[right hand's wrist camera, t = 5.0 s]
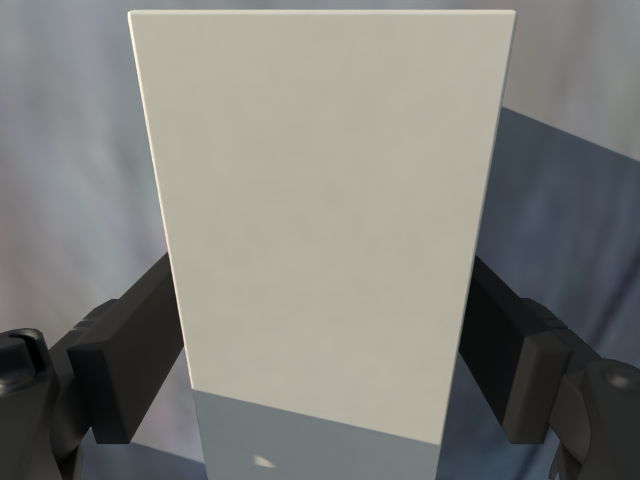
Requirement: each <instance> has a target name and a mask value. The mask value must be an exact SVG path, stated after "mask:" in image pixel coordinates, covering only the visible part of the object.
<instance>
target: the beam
mask: <svg viewBox="0 0 640 480" xmlns="http://www.w3.org/2000/svg"><path fill="white" fill-rule="evenodd" d="M517 17H518V14H517V12H516V11H514V10H132V11H129V12H128V21H129V27H130V33H131V38H132V44H133V50H134V56H135V61H136V67H137V73H138V79H139V85H140V90H141V96H142V102H143V108H144V114H145V119H146V125H147V131H148V137H149V142H150V148H151V154H152V160H153V166H154V171H155V177H156V183H157V189H158V194H159V200H160V206H161V212H162V218H163V223H164V229H165V235H166V241H167V247H168V252H169V258H170V264H171V270H172V275H173V281H174V287H175V293H176V299H177V304H178V310H179V316H180V322H181V327H182V333H183V339H184V345H185V351H186V356H187V362H188V368H189V374H190V379H191V385H192V391H193V397H194V403H195V408H196V414H197V420H198V426H199V432H200V437H201V443H202V449H203V455H204V460H205V466H206V472H207V478H208V480H435V479H436V473H437V467H438V462H439V456H440V451H441V445H442V439H443V434H444V428H445V422H446V417H447V411H448V406H449V400H450V394H451V389H452V383H453V377H454V372H455V366H456V361H457V355H458V349H459V344H460V338H461V332H462V327H463V321H464V316H465V310H466V304H467V299H468V293H469V287H470V282H471V276H472V271H473V265H474V259H475V254H476V248H477V242H478V237H479V231H480V226H481V220H482V214H483V209H484V203H485V197H486V192H487V186H488V181H489V175H490V169H491V164H492V158H493V152H494V147H495V141H496V136H497V130H498V124H499V119H500V113H501V107H502V102H503V96H504V91H505V85H506V79H507V74H508V68H509V62H510V57H511V51H512V46H513V40H514V34H515V29H516V23H517Z"/></svg>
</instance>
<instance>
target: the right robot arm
mask: <svg viewBox="0 0 640 480" xmlns="http://www.w3.org/2000/svg"><path fill="white" fill-rule="evenodd" d="M183 347H184V339H183V333H182V327H181V322H180V316H179V310H178V304H177V299H176V293H175V287H174V281H173V275H172V270H171V264H170V258H169V252H167V253H166V254H165V255H164V256H163V257H162V258H161V259H160V260H159V261H158V262H156V263H155V264H154V265H153V266H152V267H151V268H150V269H149V270H148V271H147V272H146V273H145V274H144V275H143V276H142V277H141V278H140V279H139V280H138V281H137V282H136V283H135V284H134V285H133V286H132V287H131V288H130V289H129V290H128V291H127V292H126V293H125V294H124V295H123V296H122V297H120V298H119V299H111V300H109V301H107V302H105V303H104V304H102V305H100V306H98V307H96V308H94V309H93V310H92V311H91V312H90V313H89V314H88V315H87V316H86V317H85V318H83V321H80V322H79V323H78V324H77V325H76V326H75V327H74V328H73V330H72V331H69V332H68V333H67V334H66V335H65V336H64V337H63V338H61V339H60V340H59V341H58V342H57V343H56V344H55V345H54V346H53V347H52V348H50V349H49V350H48V348H47V345H46V343H45V340H44V337H43V334H42V332H40V331H39V330H37V329H30V328H23V329H16V330H10V331H6V332H3V333H0V480H80V479H81V472H82V464H83V457H84V455H83V449H82V446H81V443H80V441H81V439H82V438H83V437H84V435H85V434H86V432H87V431H88V430H89V428H90V427H92V430H93V433H94V437H95V440H96V443H97V444H129V443H130V441H131V439H132V437H133V436H134V434H135V432H136V430H137V429H138V427H139V425H140V423H141V421H142V420H143V418H144V416H145V414H146V413H147V411H148V409H149V407H150V405H151V404H152V402H153V400H154V398H155V397H156V395H157V393H158V391H159V389H160V388H161V386H162V384H163V382H164V380H165V379H166V377H167V375H168V373H169V372H170V370H171V368H172V366H173V364H174V363H175V361H176V359H177V357H178V356H179V354H180V352H181V350H182V348H183ZM458 350H459V352H460V354H461V356H462V357H463V359H464V361H465V363H466V364H467V366H468V368H469V370H470V372H471V373H472V375H473V377H474V379H475V380H476V382H477V384H478V386H479V388H480V389H481V391H482V393H483V395H484V397H485V398H486V400H487V402H488V404H489V405H490V407H491V409H492V411H493V413H494V414H495V416H496V418H497V420H498V421H499V423H500V425H501V427H502V429H503V430H504V432H505V434H506V436H507V437H508V439H509V441H510V443H511V444H543V443H544V440H545V437H546V434H547V430H548V427H549V425H550V426H551V428H552V429H553V430H554V432H555V433H556V435H557V436H558V437H559V439H560V443H559V446H558V449H557V451H556V454H555V457H554V460H553V463H552V466H551V469H550V472H549V479H551V480H554V479H555V477H556V474H557V472H559V478H560V480H640V369H638V368H636V367H634V366H632V365H629V364H626V363H623V362H620V361H617V360H611V359H605V358H602V357H600V356H599V355H598V354H597V353H596V352H595V351H594V350H593V349H592V348H590V347H589V346H588V345H587V344H586V343H585V342H584V341H583V340H582V339H580V338H579V337H578V336H577V335H576V334H575V333H574V332H573V331H572V330H571V329H568V327H567V326H566V325H565V324H564V323H563V322H562V321H561V320H558V318H557V317H556V316H555V315H554V314H553V313H552V312H551V311H549V310H548V309H547V308H546V307H545V306H543V305H541V304H539V303H537V302H535V301H533V300H532V299H530V298H520V297H519V296H517V295H516V294H515V293H514V292H513V291H512V290H511V289H510V288H509V287H508V286H507V285H506V284H505V283H504V282H503V281H502V280H501V279H500V278H499V277H498V276H497V275H496V274H495V273H494V272H493V271H492V270H491V269H490V268H489V267H488V266H487V265H486V264H485V263H484V262H483V261H481V260H480V259H479V258H478V257H477V256H476V255H475V259H474V265H473V271H472V276H471V282H470V287H469V293H468V299H467V304H466V310H465V316H464V321H463V327H462V332H461V338H460V344H459V349H458Z"/></svg>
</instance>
